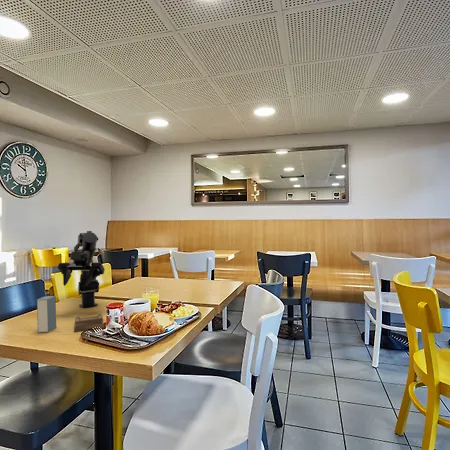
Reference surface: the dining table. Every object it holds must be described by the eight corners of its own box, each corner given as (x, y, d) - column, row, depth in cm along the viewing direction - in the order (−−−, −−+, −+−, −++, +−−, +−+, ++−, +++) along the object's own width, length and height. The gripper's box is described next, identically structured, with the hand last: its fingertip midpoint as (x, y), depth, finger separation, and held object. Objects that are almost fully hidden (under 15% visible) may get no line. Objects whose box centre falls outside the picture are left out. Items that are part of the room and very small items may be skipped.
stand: (75, 322, 123) (75, 313, 122) (102, 318, 127) (102, 310, 127) (74, 332, 112) (73, 322, 112) (103, 327, 116) (103, 318, 116)
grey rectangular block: (46, 327, 117) (45, 296, 117) (56, 327, 117) (55, 296, 117) (37, 332, 112) (36, 299, 112) (48, 332, 112) (47, 299, 112)
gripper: (58, 244, 135) (44, 274, 125) (101, 244, 135) (90, 274, 124) (68, 259, 144) (56, 289, 133) (108, 259, 143) (99, 288, 133)
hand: (75, 285), depth 130 cm, fingers open, 9 cm apart
